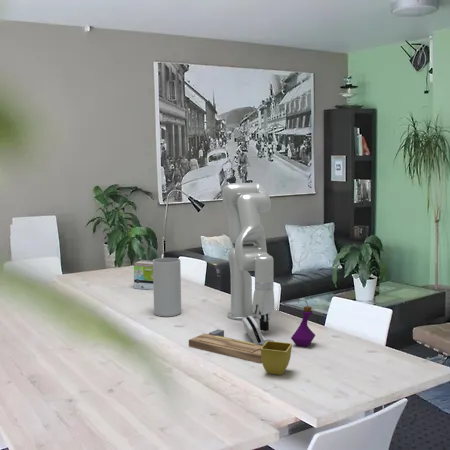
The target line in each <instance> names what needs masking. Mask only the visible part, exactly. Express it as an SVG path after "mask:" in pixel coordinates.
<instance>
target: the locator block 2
mask: <svg viewBox="0 0 450 450" xmlns="http://www.w3.org/2000/svg"><path fill="white" fill-rule="evenodd" d="M267 341H274V340H273V339H266V340H265V341H263V342H261V343H260V342H259V343H258V345H262V346H263V345H264V344H265V343H266V342H267Z"/></svg>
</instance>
